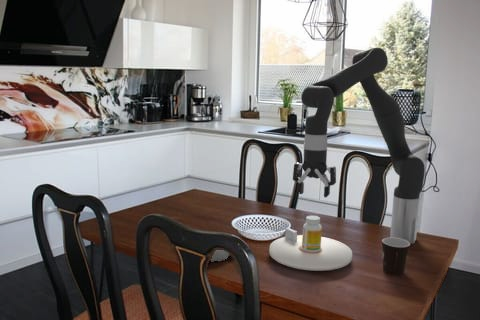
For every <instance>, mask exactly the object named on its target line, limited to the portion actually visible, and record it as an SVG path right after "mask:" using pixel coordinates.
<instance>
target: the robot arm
mask: <svg viewBox="0 0 480 320" xmlns="http://www.w3.org/2000/svg"><path fill="white" fill-rule="evenodd" d="M351 62H352V65H349V66H347V67H345V68H342V69H341V70H339V71H337V72H334V73H333V74H332V75H330V76H328V77H327V78H325V79H323V80H318V81H317V82H315V83H311V84H310V85H307V86H306V87H305V88H304V90H302V93H301V97H300V98H301V99H300V100H301V102H302V104H303V106H305V107H306V108H311V109H316V112H315V114H311V115H308V116H307V117H306V119H305V132H304V140H303V162H302V163H300V162H296V163H294V165H293V170H292V171H293V172H292V181H293V182H297V191H298V193H299V195H303V194H304V191H305V183H304V181H305V179H307V178H310V179H311V178H312V179H313V178H314V179H320V181H321V182H322V183H323V185H324V188H323V198H328V197H329V196H330V193H331V186H335V184H336V183H337V167H336V166H334V165H332V166H328V165H327V156H328V155H327V154H328V135H327V134H328V123H329V118H330V116H331V113H332V109H333V105H334V103H335V98H337V97H339V96H341V95H342V94H344V93H345V92H347V91H348V90H350V88H353V87H354V86H356V85H357V84H358V83H360V85H361V87H362V89H363V91H364V93H365V95H366V97H367V100H368V103H369V105H370V108H371V110H372V113H373V116H374V118H375V121H376V124H377V126H378V128H379V131H380V133H381V135H382V138H383V140H384V142H385V144H386V147H387V149H388V152H389V156H390V160H391V164H392V167H393V171H394V172H395V174H397V175H398V176H399V178H398V185H397V186H396V187H395V188H394V190H393V198H392V211H391V212H392V213H391V221H390V222H391V223H390V232H389V233H390V234H389V235H390V236H389V238H400V239H404V240H406V241H408V242H409V243H410V244H415V242H416V240H417V234H418V233H417V232H418V224H419V222H418V221H419V215H418V214H419V205H420V204H419V203H420V195H421V192H422V190H423V185H424V179H425V168H426V167H425V163H424V161H423V160H422V159H421V158H420V157H418V156H416V155H414V154H413V152H412V151H411V149H410V148H409V144H408V142H407V140H406V134H405V133H406V132H405V130H406V129H405V128H406V127H405V120H404V116H403V114H402V111H401V109H400V108H401V107H400V105H399V104H398V101H396V100H395V99H394V98H393V96H392V95H390V94H389V93H388V92H387V91H385V90H384V89H383V88H382V87H381V85H380V84H379V83H378V81H377V79H376V77H375V75H377V74H379V73H382V72H383V71H384V70H386V68H387V66H388V62H389V58H388V55H387V53H386V51H385V50H384V49H382V48H381V47H377V46H375V47H370V48H368V49H365V50H362V51H359V52H357V53H355V54H354V55H353V56H352V61H351ZM301 169H302V170H303V171H304V172H303V174H301V176H300V170H301ZM327 171H328V174H329V177H330V178H329V177H328V176H327V174H326V172H327Z"/></svg>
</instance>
